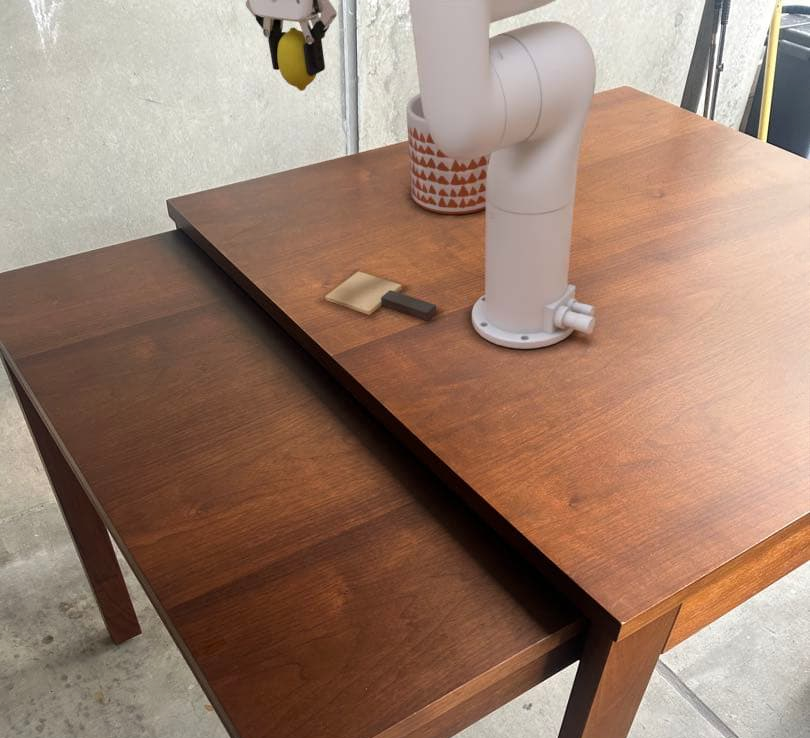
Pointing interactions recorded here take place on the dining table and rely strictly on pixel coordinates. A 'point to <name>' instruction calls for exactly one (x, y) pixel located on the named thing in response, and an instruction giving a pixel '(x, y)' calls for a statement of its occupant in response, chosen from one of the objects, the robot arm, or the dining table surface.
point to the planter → (442, 171)
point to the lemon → (293, 59)
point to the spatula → (378, 297)
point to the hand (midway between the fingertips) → (298, 68)
